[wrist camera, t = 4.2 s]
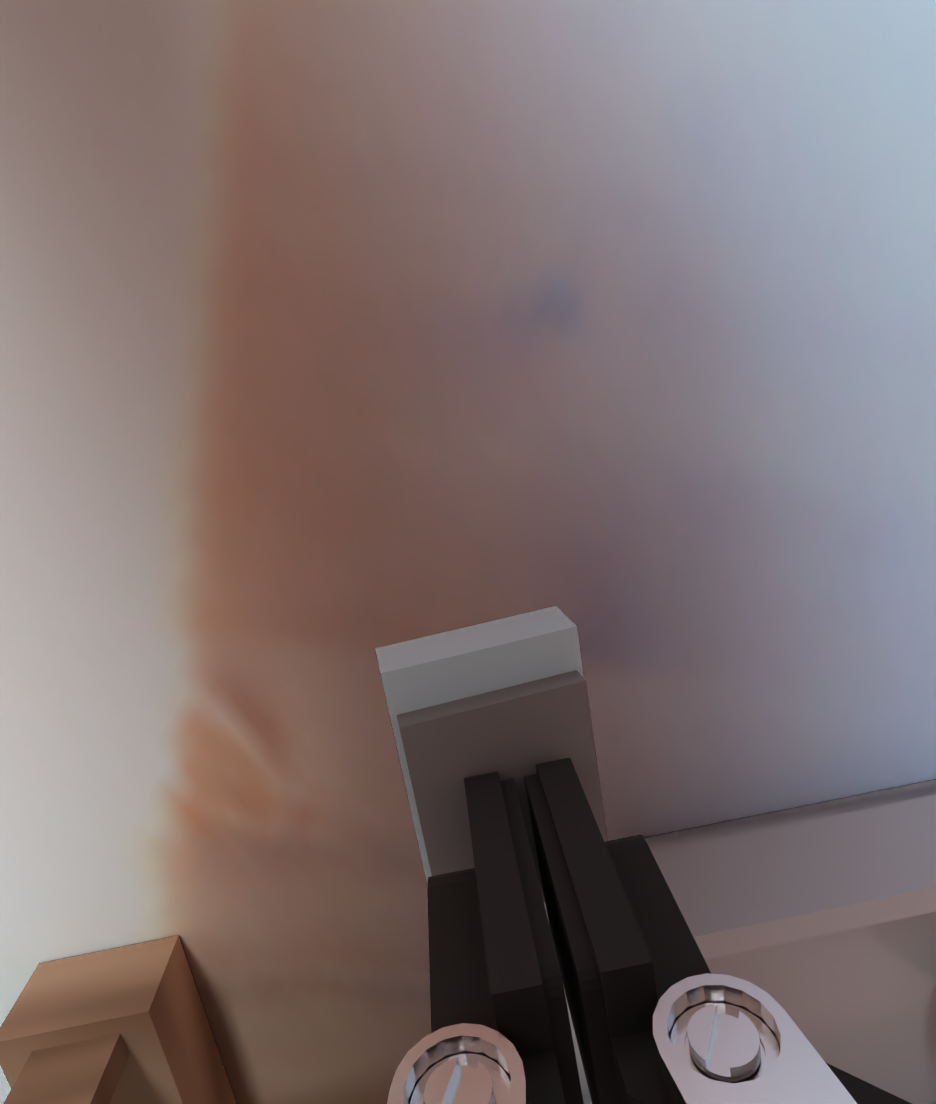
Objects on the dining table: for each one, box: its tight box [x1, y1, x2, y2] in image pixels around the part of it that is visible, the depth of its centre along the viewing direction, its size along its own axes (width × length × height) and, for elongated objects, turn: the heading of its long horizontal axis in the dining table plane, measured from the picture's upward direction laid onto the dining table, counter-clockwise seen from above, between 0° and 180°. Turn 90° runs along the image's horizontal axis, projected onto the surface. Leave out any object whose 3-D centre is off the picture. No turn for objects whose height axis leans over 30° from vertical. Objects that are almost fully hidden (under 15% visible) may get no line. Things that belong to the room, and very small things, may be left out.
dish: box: [644, 780, 936, 1104], centre depth 17 cm, size 10×12×4 cm
